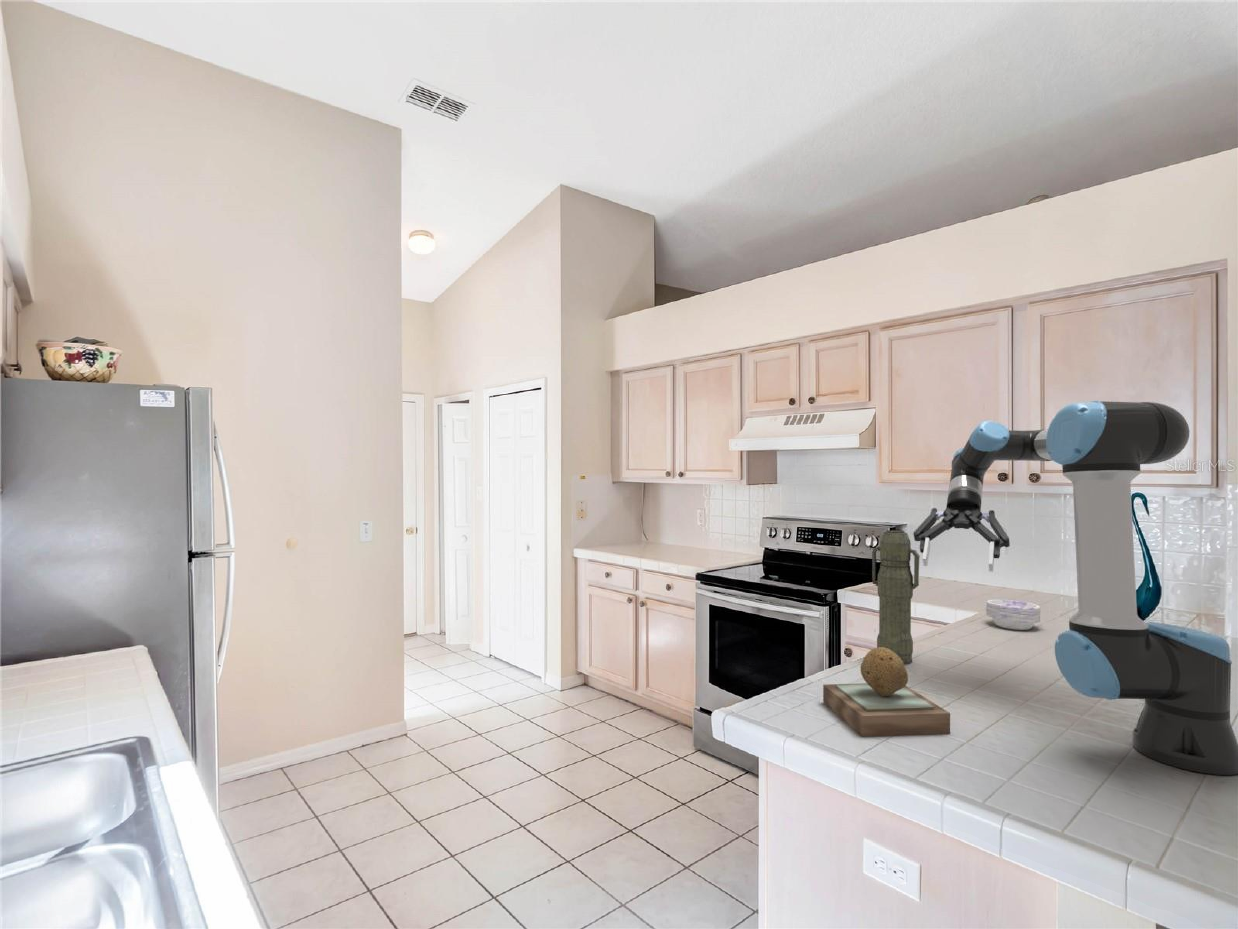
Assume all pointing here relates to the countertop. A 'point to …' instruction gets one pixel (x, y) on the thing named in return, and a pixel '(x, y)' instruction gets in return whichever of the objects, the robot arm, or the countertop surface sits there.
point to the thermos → (895, 592)
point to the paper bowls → (1013, 614)
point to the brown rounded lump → (884, 671)
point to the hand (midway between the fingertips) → (956, 565)
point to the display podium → (885, 711)
